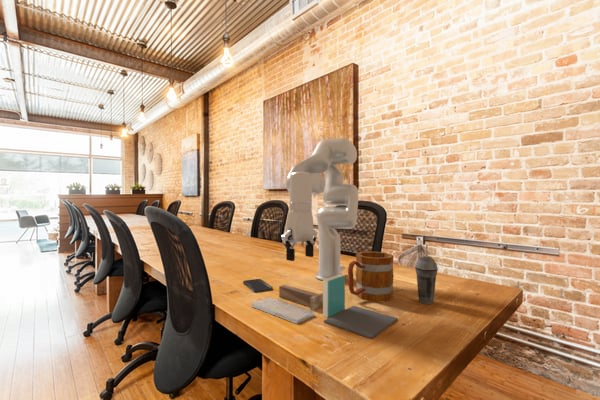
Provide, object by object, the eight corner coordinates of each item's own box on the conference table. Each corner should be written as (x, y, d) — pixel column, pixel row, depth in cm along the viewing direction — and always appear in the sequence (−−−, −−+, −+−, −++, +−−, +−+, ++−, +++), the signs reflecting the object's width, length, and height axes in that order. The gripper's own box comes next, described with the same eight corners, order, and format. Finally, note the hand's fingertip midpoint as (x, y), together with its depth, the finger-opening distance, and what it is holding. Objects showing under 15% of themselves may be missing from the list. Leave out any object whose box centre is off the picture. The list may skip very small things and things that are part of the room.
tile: (339, 307, 97) (339, 274, 97) (344, 309, 96) (345, 275, 96) (322, 316, 90) (323, 279, 90) (328, 317, 89) (328, 281, 89)
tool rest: (269, 300, 104) (269, 296, 104) (314, 315, 90) (314, 311, 90) (251, 306, 98) (251, 303, 98) (296, 324, 84) (296, 319, 84)
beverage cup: (436, 299, 105) (436, 242, 105) (438, 306, 98) (439, 246, 98) (414, 297, 107) (414, 241, 107) (415, 304, 100) (415, 244, 100)
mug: (372, 287, 118) (372, 250, 118) (401, 297, 107) (401, 255, 107) (335, 297, 107) (335, 255, 107) (364, 309, 96) (364, 262, 96)
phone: (259, 278, 129) (273, 288, 116) (259, 281, 129) (273, 290, 116) (242, 280, 125) (254, 290, 112) (242, 283, 125) (254, 293, 112)
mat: (353, 307, 98) (353, 305, 98) (397, 319, 88) (397, 317, 88) (323, 322, 86) (323, 320, 86) (371, 338, 76) (371, 336, 76)
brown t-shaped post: (287, 294, 111) (288, 283, 111) (324, 305, 99) (324, 293, 99) (275, 298, 106) (275, 287, 106) (312, 310, 94) (312, 298, 94)
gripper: (308, 207, 111) (308, 253, 111) (274, 208, 98) (274, 260, 98) (324, 208, 106) (324, 256, 106) (291, 208, 93) (290, 263, 93)
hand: (300, 258), depth 102 cm, fingers open, 9 cm apart
